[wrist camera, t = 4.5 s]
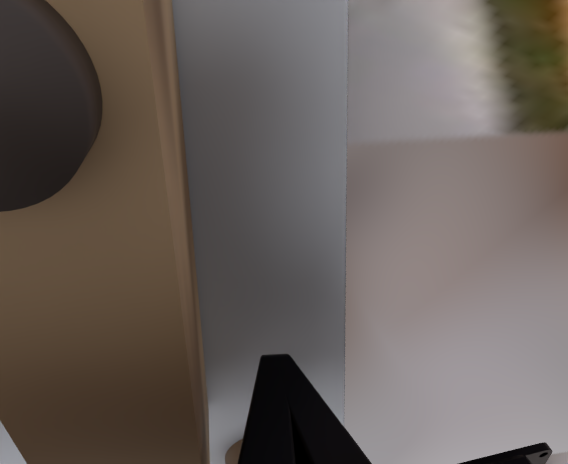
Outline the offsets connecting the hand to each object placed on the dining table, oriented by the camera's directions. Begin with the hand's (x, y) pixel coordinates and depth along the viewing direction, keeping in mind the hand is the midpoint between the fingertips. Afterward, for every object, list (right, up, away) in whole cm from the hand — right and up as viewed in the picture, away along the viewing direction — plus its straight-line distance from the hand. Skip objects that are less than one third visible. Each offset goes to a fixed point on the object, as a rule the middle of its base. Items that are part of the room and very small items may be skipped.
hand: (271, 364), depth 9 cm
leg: (-3, +3, -1) cm, 4 cm away
